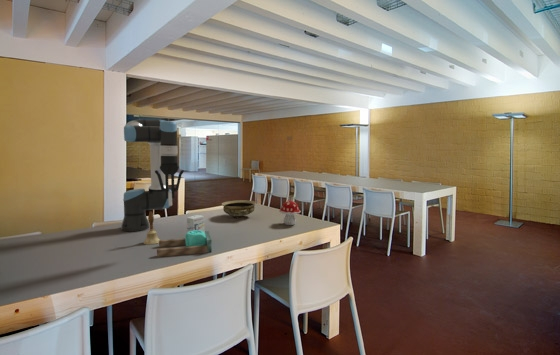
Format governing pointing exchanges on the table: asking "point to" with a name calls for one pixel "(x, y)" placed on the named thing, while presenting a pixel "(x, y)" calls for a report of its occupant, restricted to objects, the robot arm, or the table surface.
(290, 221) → the decorative mushroom
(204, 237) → the decorative dice
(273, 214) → the table surface
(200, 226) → the ink box
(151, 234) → the hand bell
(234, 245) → the table surface
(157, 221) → the table surface
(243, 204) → the ceramic bowl
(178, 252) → the channel
